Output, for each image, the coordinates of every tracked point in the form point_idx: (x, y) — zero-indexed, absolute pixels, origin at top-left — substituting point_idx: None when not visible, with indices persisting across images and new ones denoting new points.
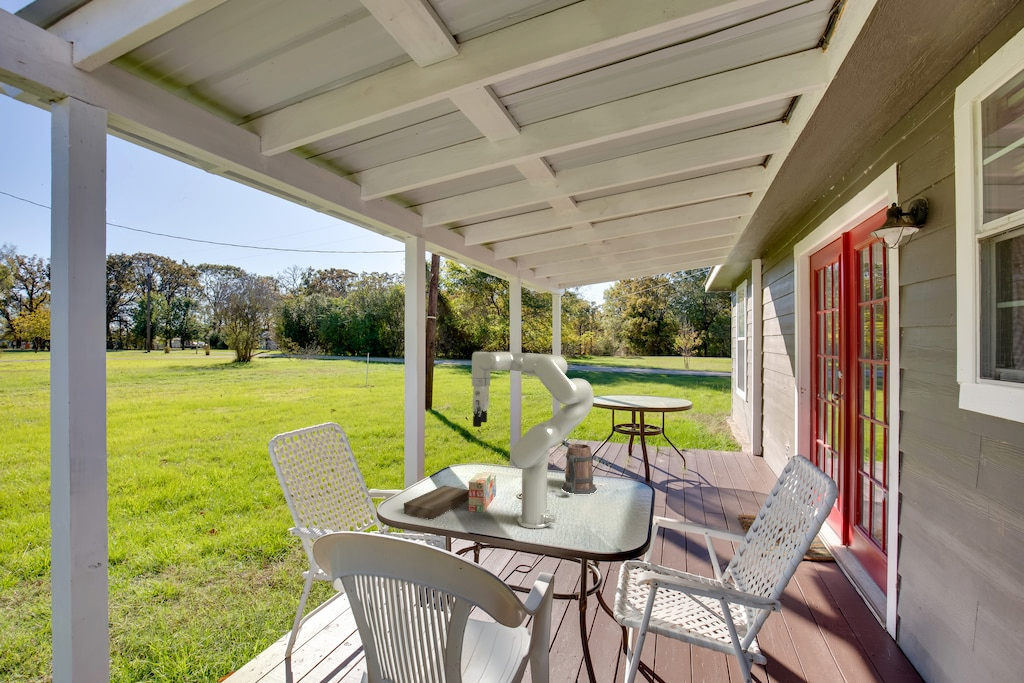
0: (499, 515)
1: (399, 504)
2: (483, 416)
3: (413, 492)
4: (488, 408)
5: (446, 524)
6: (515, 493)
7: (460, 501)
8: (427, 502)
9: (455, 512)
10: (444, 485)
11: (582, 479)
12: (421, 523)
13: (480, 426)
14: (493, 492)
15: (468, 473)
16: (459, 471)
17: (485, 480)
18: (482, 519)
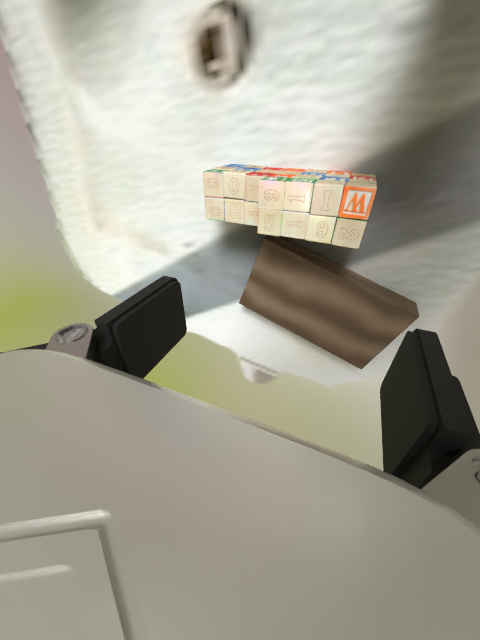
0: (409, 106)
1: (310, 362)
2: (148, 331)
3: (245, 345)
4: (84, 362)
5: (459, 266)
6: (204, 97)
7: (308, 253)
8: (360, 328)
9: (365, 255)
10: (239, 302)
11: None
12: (435, 321)
13: (435, 335)
14: (252, 167)
15: (120, 259)
16: (118, 278)
17: (344, 185)
18: (439, 165)
